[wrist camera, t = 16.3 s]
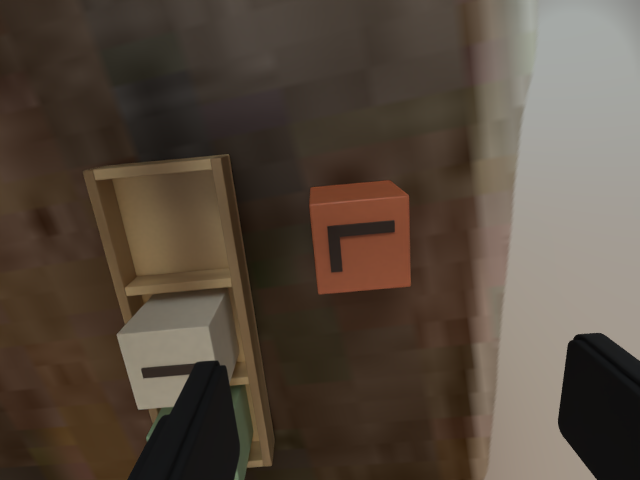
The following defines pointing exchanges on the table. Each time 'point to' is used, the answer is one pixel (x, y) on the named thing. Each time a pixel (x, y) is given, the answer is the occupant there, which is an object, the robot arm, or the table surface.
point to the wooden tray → (183, 254)
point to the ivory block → (176, 342)
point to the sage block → (241, 420)
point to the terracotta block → (360, 236)
